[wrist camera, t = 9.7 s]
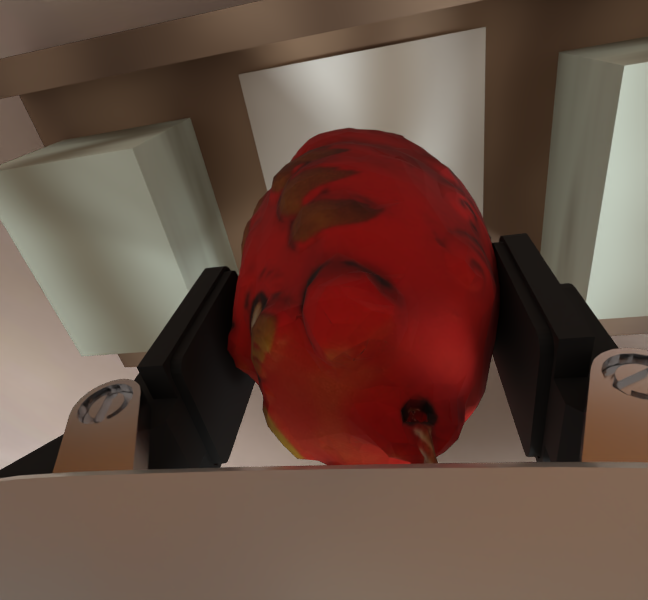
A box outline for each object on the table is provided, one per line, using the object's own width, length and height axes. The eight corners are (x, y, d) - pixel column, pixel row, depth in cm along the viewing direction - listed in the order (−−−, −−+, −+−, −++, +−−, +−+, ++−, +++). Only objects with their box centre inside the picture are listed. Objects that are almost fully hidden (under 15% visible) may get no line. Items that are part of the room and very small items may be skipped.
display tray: (795, -111, 14) (1067, -193, 8) (681, 285, 21) (784, 377, 16) (28, 59, 19) (-115, 76, 13) (153, 328, 26) (94, 409, 21)
